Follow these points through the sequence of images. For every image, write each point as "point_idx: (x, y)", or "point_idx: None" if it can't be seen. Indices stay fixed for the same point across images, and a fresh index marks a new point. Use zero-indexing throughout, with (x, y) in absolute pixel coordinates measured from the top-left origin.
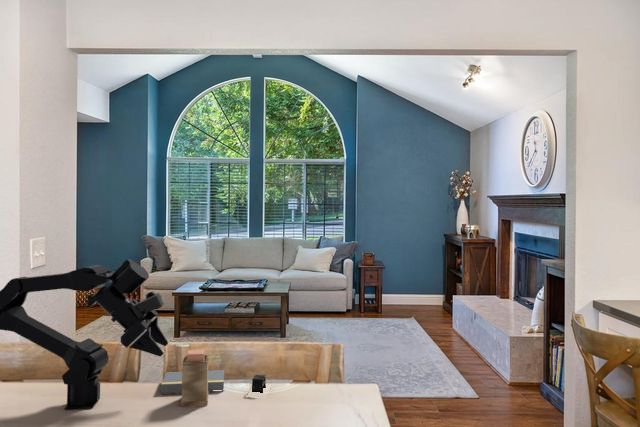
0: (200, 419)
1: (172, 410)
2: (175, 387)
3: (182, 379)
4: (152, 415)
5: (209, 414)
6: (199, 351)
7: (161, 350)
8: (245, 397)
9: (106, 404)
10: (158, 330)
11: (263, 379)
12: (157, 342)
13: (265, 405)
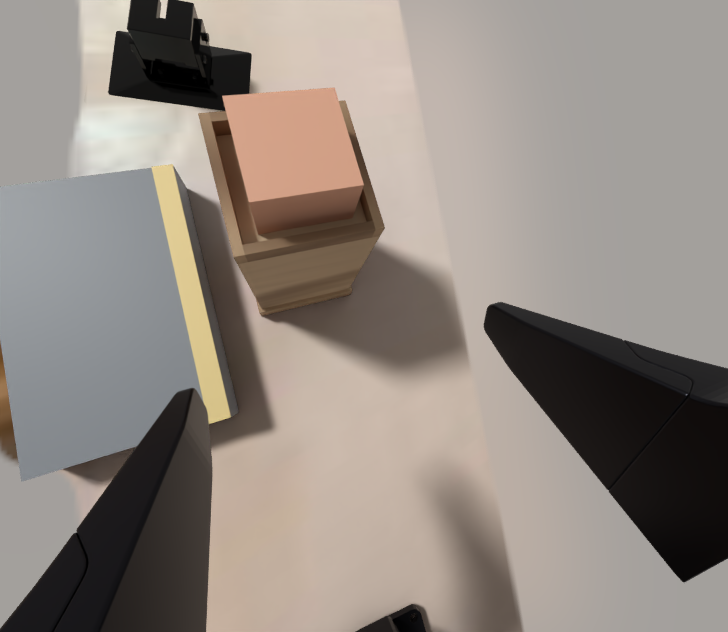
0: (427, 211)
1: (382, 309)
2: (221, 357)
3: (364, 260)
4: (427, 356)
5: (391, 194)
6: (281, 121)
7: (518, 310)
8: None
9: (369, 574)
10: (128, 578)
11: (184, 4)
12: (208, 501)
13: (303, 53)
